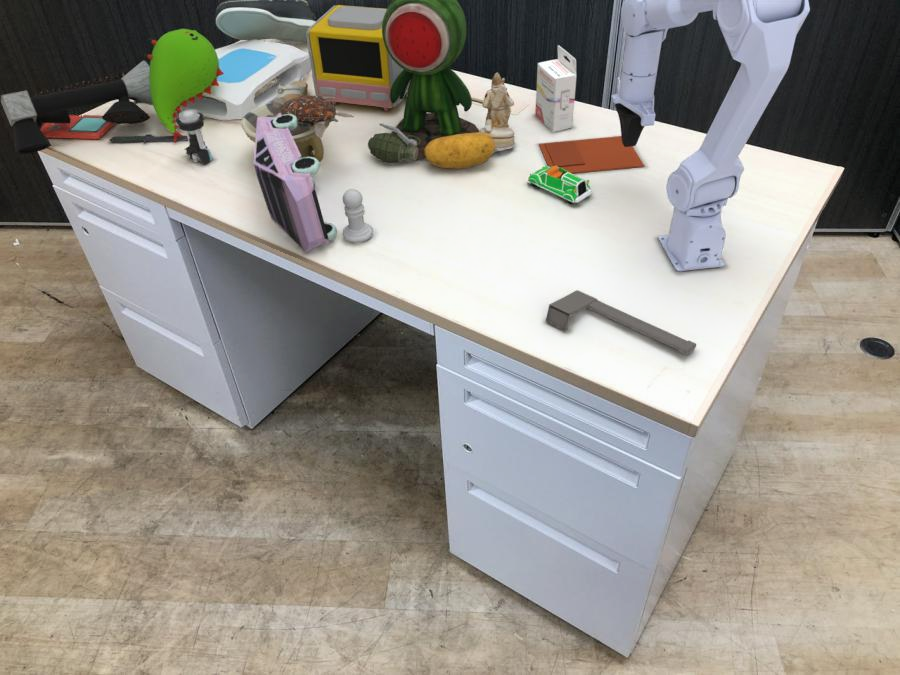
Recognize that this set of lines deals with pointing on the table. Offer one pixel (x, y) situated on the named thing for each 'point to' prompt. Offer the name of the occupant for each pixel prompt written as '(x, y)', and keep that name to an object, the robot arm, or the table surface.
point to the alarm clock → (352, 57)
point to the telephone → (76, 106)
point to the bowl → (301, 136)
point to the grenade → (393, 146)
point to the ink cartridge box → (556, 91)
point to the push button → (194, 135)
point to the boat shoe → (265, 19)
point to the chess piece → (355, 218)
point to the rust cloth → (590, 155)
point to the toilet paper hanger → (579, 301)
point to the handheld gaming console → (78, 127)
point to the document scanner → (250, 77)
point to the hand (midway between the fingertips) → (629, 144)
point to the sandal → (292, 90)
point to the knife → (145, 138)
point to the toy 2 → (309, 111)
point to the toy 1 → (180, 73)
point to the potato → (460, 150)
